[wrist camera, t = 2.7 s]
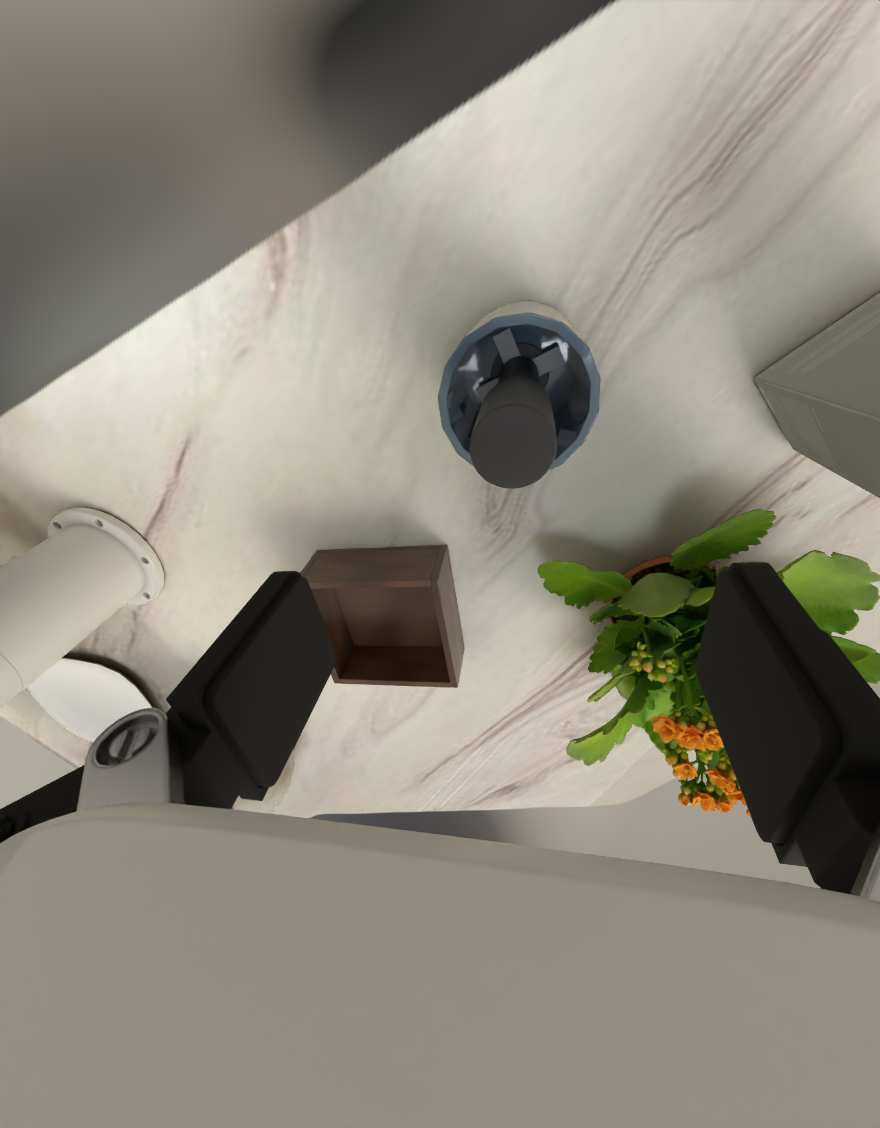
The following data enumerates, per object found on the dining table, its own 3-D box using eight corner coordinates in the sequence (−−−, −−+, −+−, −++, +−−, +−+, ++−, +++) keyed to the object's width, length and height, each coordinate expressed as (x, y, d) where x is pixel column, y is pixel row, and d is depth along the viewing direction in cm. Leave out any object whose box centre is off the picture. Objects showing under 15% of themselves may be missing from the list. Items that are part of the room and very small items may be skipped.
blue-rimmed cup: (467, 436, 34) (450, 483, 27) (452, 312, 29) (427, 327, 22) (580, 425, 32) (595, 472, 25) (584, 290, 28) (604, 300, 20)
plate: (79, 732, 75) (71, 741, 74) (3, 643, 63) (-9, 651, 62) (190, 748, 72) (183, 758, 70) (132, 657, 59) (122, 667, 58)
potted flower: (477, 600, 43) (452, 764, 29) (668, 396, 30) (792, 515, 16) (662, 711, 48) (718, 899, 34) (899, 577, 35) (1154, 793, 21)
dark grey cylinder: (497, 430, 33) (478, 531, 20) (462, 353, 30) (415, 415, 18) (576, 393, 30) (608, 482, 18) (544, 306, 28) (557, 340, 15)
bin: (351, 646, 51) (334, 683, 46) (316, 550, 43) (292, 583, 39) (464, 648, 48) (457, 687, 43) (447, 545, 40) (437, 580, 36)
